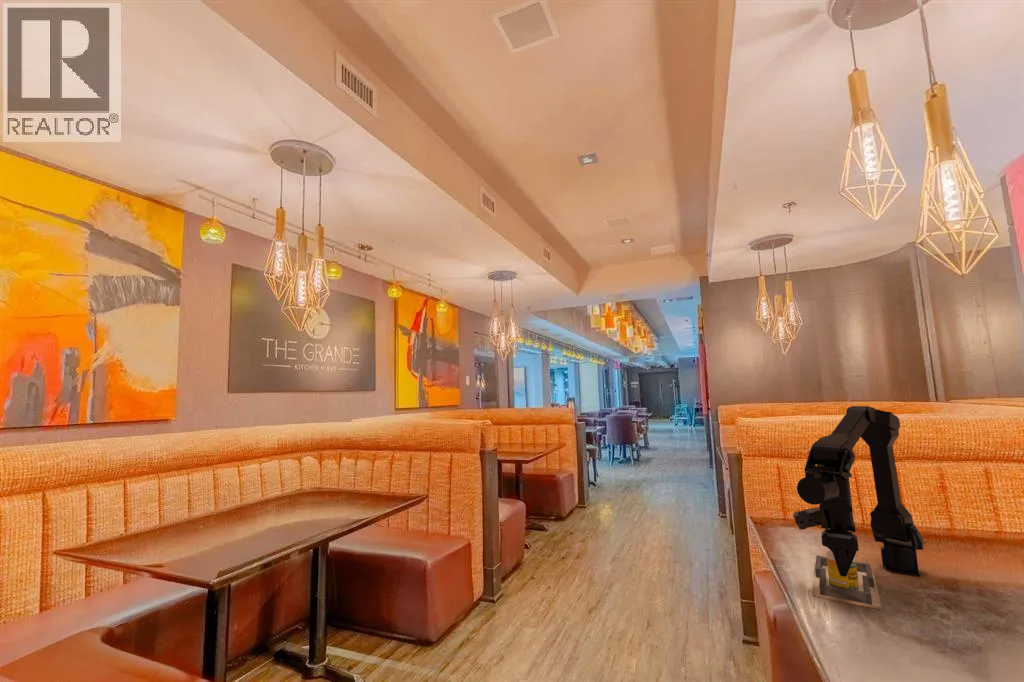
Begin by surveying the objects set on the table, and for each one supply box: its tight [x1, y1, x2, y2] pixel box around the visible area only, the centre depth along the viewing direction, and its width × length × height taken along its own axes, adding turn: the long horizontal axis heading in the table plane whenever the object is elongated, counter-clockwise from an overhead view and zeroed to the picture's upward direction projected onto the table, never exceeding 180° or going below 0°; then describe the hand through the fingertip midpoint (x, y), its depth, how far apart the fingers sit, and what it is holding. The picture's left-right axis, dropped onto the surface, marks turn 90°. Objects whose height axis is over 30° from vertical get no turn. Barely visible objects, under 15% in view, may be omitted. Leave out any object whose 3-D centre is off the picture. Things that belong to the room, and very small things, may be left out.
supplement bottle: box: [825, 549, 859, 591], centre depth 100 cm, size 5×5×10 cm
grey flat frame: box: [811, 555, 883, 611], centre depth 105 cm, size 12×22×3 cm, turn 145°
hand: (842, 571), depth 100 cm, fingers closed on supplement bottle, 5 cm apart
